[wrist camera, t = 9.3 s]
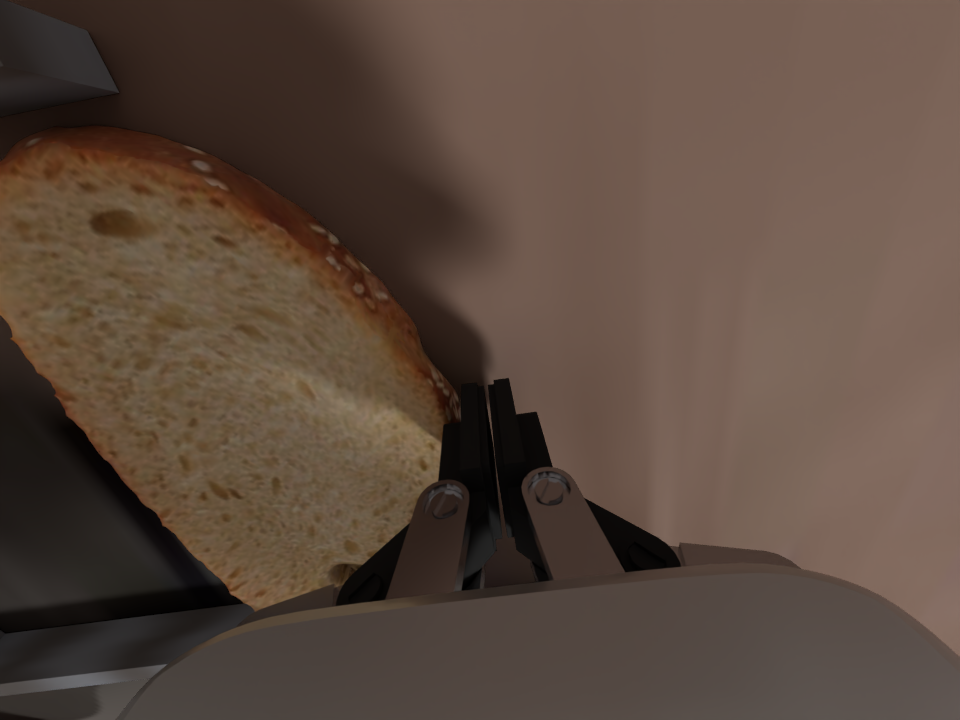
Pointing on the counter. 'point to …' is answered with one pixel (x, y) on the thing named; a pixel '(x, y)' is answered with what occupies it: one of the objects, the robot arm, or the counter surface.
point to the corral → (116, 643)
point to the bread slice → (219, 355)
